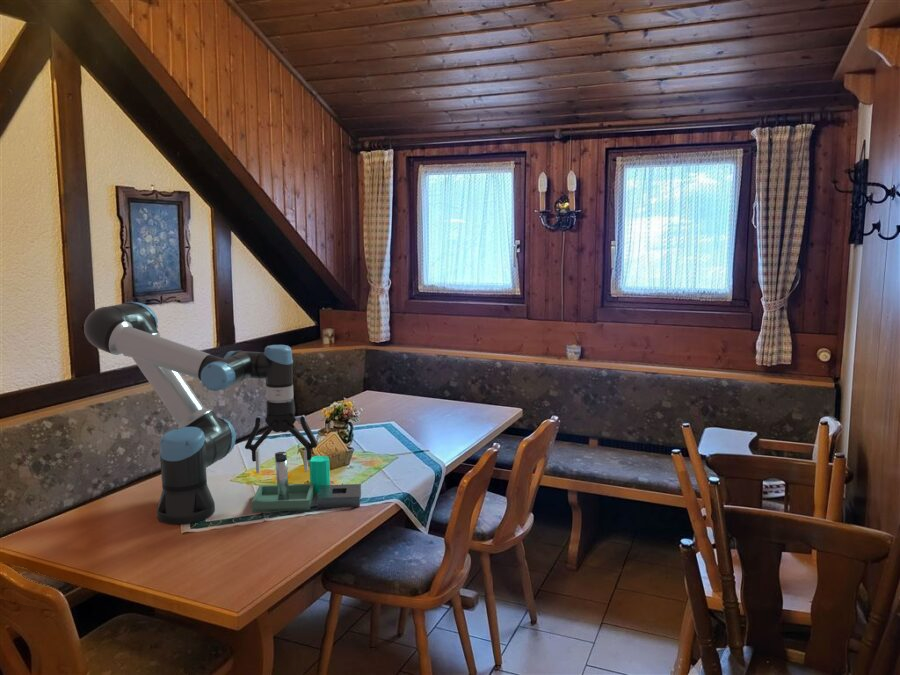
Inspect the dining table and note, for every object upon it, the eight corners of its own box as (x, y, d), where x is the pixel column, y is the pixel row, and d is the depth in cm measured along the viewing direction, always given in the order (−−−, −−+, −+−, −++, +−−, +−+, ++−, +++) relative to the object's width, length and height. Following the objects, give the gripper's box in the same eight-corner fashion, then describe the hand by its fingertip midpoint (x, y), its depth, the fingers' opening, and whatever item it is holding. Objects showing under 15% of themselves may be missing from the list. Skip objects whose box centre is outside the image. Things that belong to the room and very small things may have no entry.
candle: (326, 496, 215) (325, 457, 213) (307, 494, 216) (306, 456, 214) (333, 488, 221) (332, 451, 219) (314, 487, 222) (313, 450, 220)
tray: (251, 512, 202) (251, 502, 202) (260, 494, 215) (259, 485, 214) (309, 510, 204) (309, 500, 203) (314, 493, 216) (313, 483, 216)
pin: (277, 502, 207) (274, 455, 205) (278, 497, 211) (275, 452, 208) (288, 501, 208) (285, 455, 205) (290, 497, 211) (287, 451, 208)
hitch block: (317, 508, 205) (317, 498, 205) (320, 494, 215) (320, 485, 215) (359, 506, 206) (359, 496, 206) (360, 493, 216) (360, 484, 216)
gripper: (232, 403, 200) (235, 476, 203) (323, 402, 202) (325, 474, 205) (237, 397, 207) (240, 467, 210) (325, 395, 209) (327, 465, 212)
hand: (282, 471), depth 208 cm, fingers open, 13 cm apart
